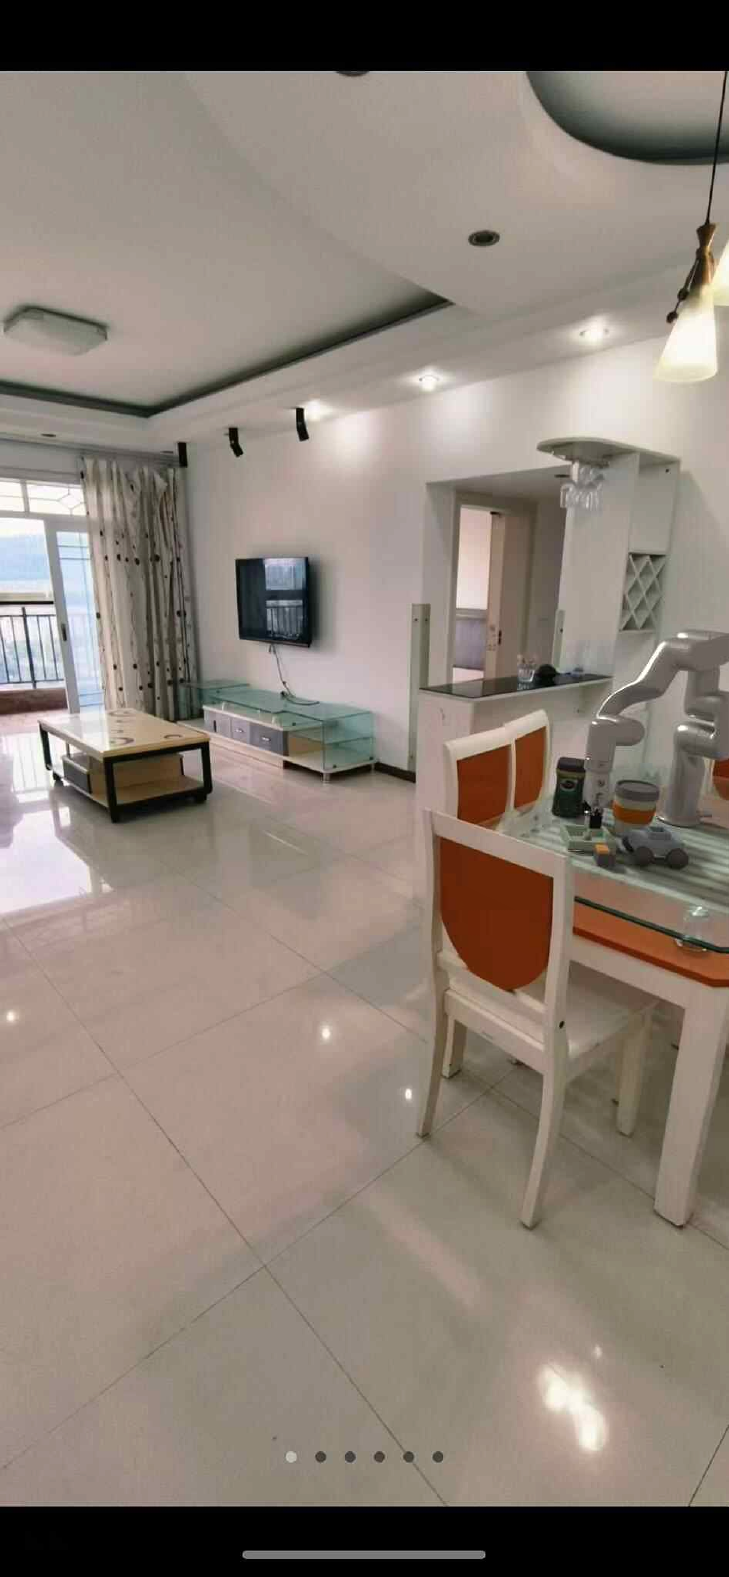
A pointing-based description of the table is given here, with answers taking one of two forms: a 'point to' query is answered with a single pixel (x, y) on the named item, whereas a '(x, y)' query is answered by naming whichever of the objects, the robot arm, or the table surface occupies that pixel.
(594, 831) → the tray
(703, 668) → the robot arm
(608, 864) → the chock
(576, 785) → the coffee jar
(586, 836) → the pin
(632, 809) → the reusable coffee cup
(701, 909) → the table surface
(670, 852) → the toy car
